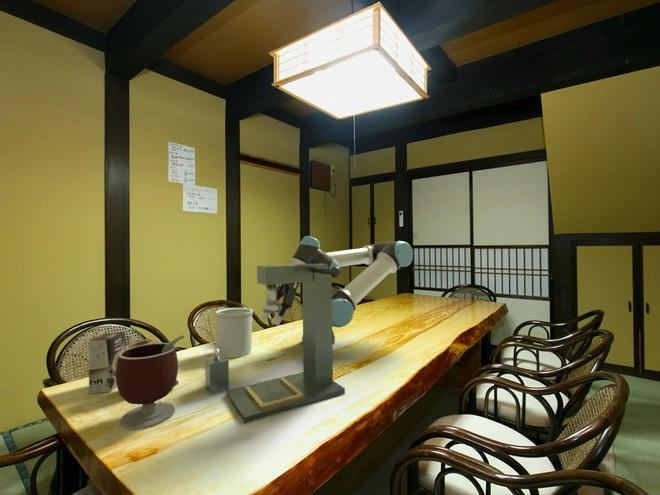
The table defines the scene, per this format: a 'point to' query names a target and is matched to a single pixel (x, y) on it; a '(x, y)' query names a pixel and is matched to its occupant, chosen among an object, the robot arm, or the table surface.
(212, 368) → the block
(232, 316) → the utensil holder
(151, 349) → the mate gourd
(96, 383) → the coffee box
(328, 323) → the press
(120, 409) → the table surface
